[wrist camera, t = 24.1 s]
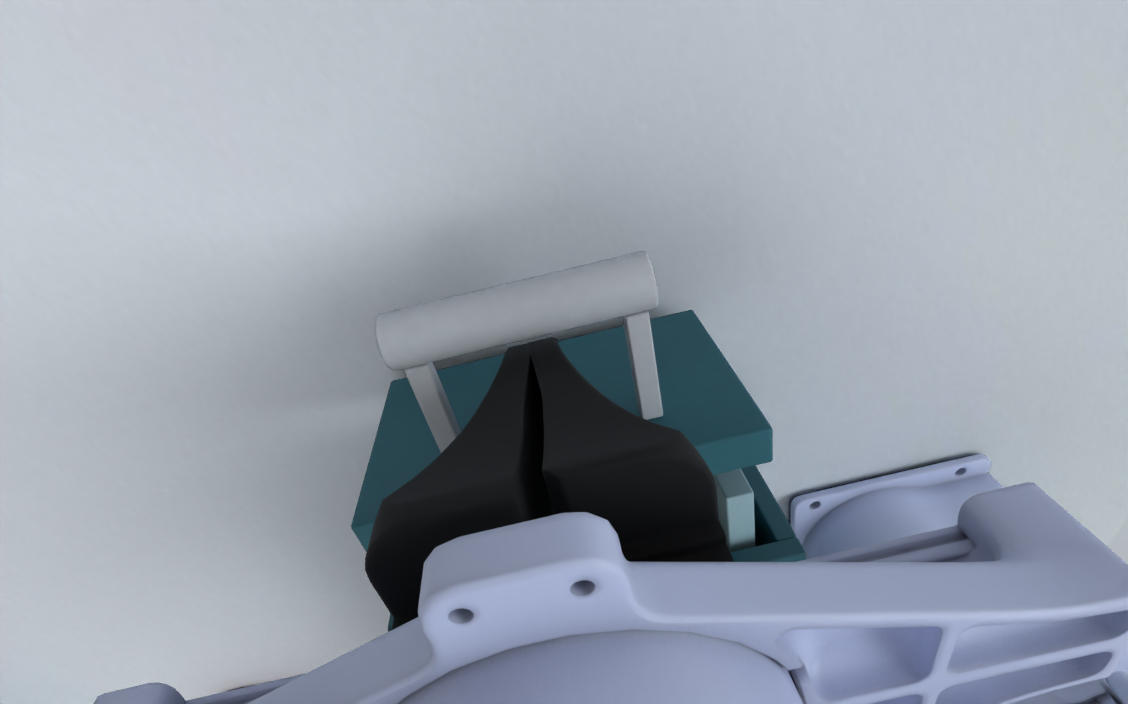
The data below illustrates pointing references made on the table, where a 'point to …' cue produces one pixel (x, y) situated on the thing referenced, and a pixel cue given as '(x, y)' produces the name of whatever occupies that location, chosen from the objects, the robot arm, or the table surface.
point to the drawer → (605, 359)
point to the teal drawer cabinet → (761, 529)
